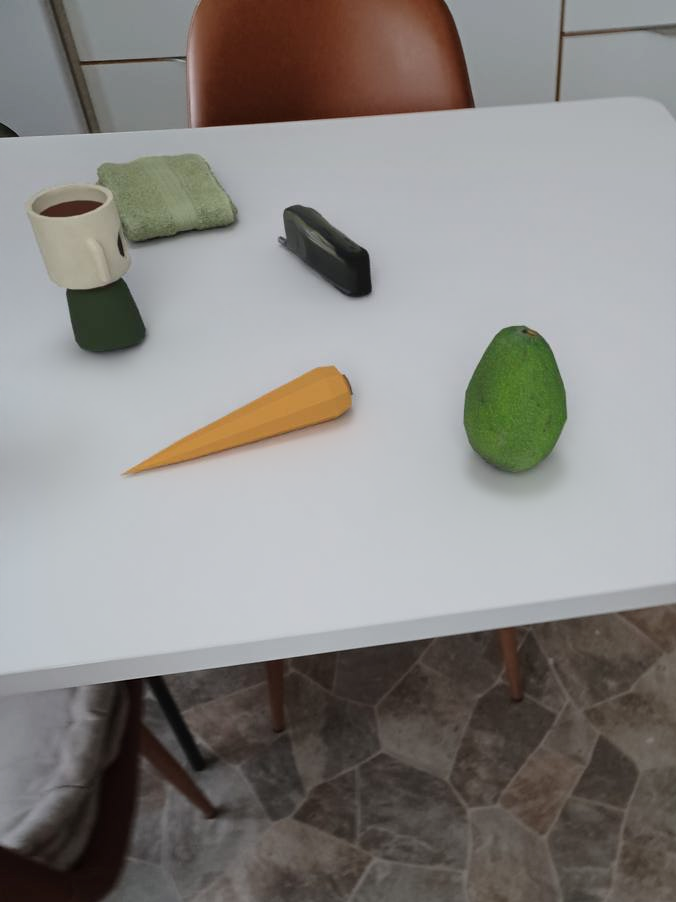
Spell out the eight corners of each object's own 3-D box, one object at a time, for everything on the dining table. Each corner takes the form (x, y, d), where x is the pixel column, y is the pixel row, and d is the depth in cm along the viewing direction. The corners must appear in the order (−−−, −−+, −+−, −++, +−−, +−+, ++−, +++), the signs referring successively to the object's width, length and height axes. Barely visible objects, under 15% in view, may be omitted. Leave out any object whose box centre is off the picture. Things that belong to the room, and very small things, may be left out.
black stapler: (374, 247, 92) (290, 190, 99) (348, 256, 91) (265, 198, 98) (377, 295, 96) (296, 237, 103) (352, 304, 94) (272, 245, 102)
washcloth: (204, 166, 115) (198, 138, 113) (245, 228, 105) (239, 198, 102) (93, 186, 112) (85, 157, 109) (123, 252, 101) (115, 221, 99)
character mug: (171, 356, 88) (133, 214, 78) (94, 380, 85) (46, 236, 75) (129, 305, 94) (89, 167, 84) (56, 325, 91) (7, 186, 81)
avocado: (534, 504, 74) (542, 368, 65) (446, 472, 77) (443, 337, 68) (578, 449, 79) (591, 315, 70) (494, 421, 81) (497, 288, 72)
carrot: (348, 406, 84) (330, 355, 82) (365, 414, 80) (347, 362, 78) (128, 494, 79) (103, 443, 77) (135, 508, 75) (109, 455, 73)
